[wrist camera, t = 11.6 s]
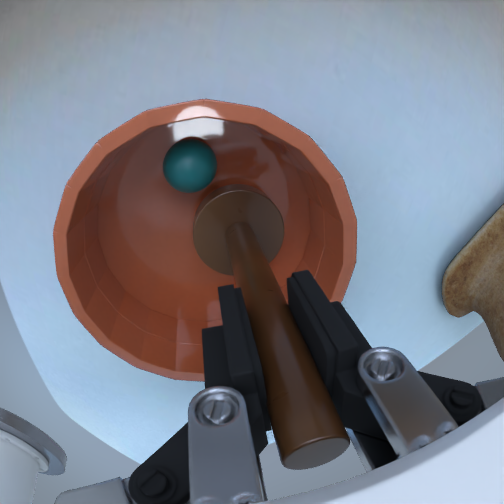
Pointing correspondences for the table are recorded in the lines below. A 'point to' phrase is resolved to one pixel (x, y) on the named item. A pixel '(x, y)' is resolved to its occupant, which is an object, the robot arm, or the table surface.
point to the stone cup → (480, 279)
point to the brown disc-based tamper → (271, 322)
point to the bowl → (189, 228)
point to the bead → (189, 165)
